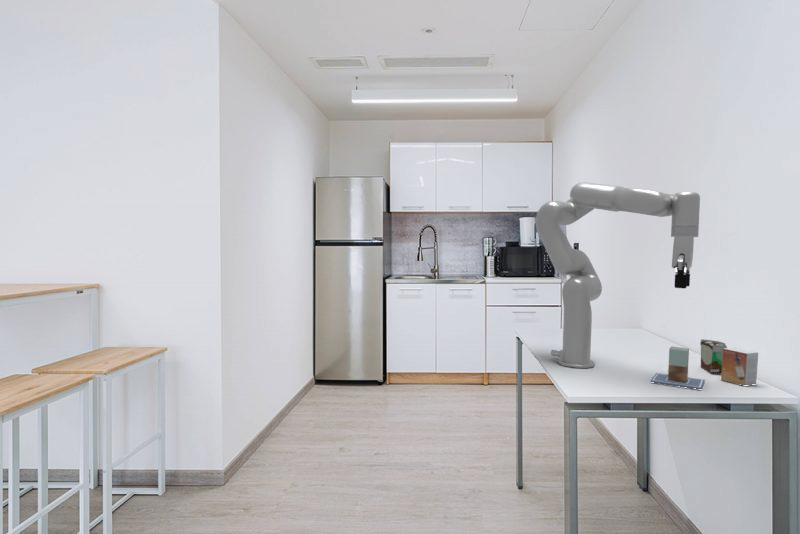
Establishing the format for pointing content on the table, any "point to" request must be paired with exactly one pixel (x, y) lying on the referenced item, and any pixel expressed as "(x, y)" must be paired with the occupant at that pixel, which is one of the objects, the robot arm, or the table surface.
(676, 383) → the board
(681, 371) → the walnut block
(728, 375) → the small box
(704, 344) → the food container
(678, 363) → the sage block
